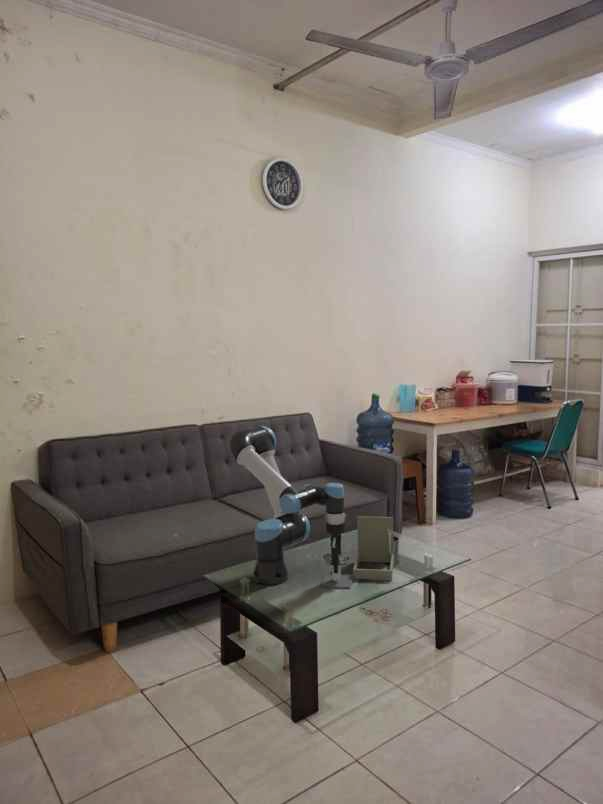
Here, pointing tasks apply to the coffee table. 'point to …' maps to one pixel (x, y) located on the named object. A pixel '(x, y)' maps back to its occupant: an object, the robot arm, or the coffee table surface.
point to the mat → (330, 583)
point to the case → (374, 546)
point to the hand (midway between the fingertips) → (337, 578)
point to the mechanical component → (339, 559)
